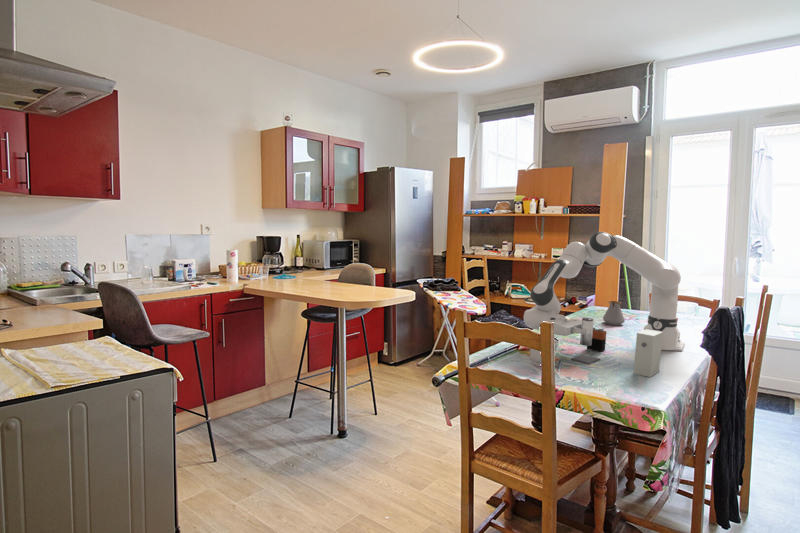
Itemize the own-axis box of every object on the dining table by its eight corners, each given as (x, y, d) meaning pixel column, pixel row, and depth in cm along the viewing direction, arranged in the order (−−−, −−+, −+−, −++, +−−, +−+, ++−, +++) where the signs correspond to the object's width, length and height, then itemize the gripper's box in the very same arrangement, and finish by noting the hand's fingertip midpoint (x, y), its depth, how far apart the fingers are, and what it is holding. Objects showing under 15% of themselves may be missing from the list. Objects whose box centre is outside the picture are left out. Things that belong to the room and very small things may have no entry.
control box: (643, 367, 187) (646, 328, 185) (659, 371, 183) (663, 331, 181) (633, 373, 180) (636, 333, 178) (649, 377, 175) (653, 336, 174)
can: (582, 342, 198) (585, 316, 197) (593, 344, 195) (595, 319, 194) (577, 343, 195) (580, 318, 194) (588, 346, 192) (590, 320, 191)
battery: (601, 352, 208) (603, 330, 207) (586, 349, 212) (587, 327, 211) (605, 350, 211) (606, 329, 210) (590, 347, 216) (591, 326, 214)
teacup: (555, 359, 194) (556, 336, 193) (559, 371, 180) (560, 345, 179) (525, 357, 197) (526, 334, 196) (526, 367, 183) (528, 343, 182)
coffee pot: (603, 320, 275) (605, 295, 273) (625, 323, 269) (627, 298, 268) (599, 327, 256) (601, 301, 255) (622, 330, 251) (624, 303, 249)
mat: (581, 355, 202) (581, 354, 202) (600, 359, 196) (600, 358, 196) (570, 359, 195) (570, 358, 195) (589, 364, 189) (589, 363, 189)
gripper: (568, 327, 211) (598, 334, 201) (545, 334, 197) (577, 342, 187) (569, 314, 211) (600, 320, 201) (546, 320, 197) (578, 326, 187)
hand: (588, 330), depth 194 cm, fingers closed on can, 5 cm apart
